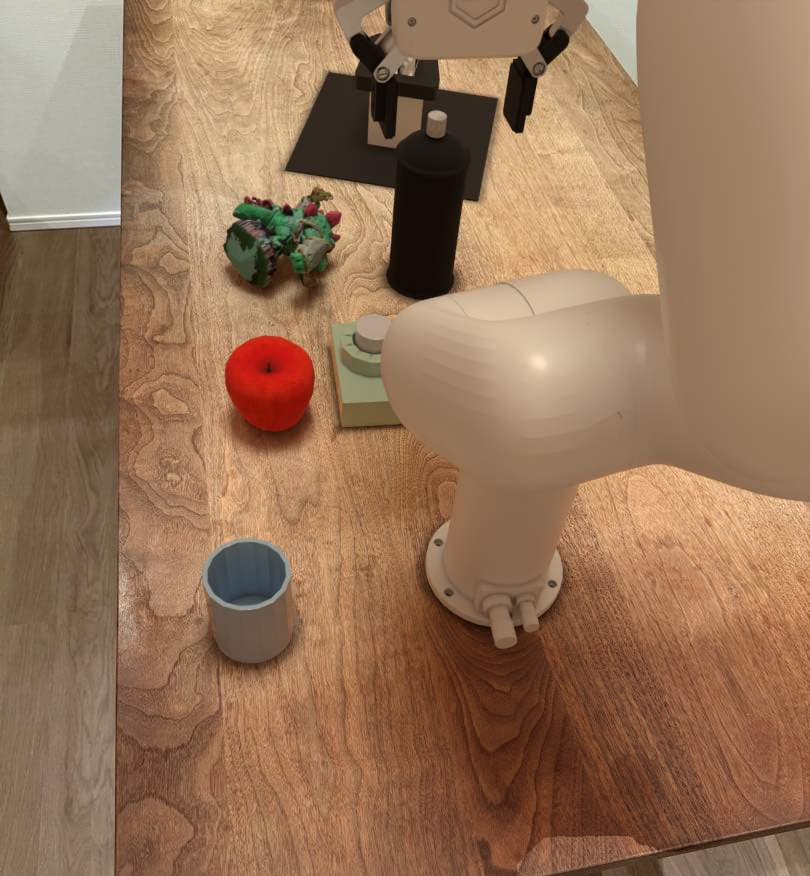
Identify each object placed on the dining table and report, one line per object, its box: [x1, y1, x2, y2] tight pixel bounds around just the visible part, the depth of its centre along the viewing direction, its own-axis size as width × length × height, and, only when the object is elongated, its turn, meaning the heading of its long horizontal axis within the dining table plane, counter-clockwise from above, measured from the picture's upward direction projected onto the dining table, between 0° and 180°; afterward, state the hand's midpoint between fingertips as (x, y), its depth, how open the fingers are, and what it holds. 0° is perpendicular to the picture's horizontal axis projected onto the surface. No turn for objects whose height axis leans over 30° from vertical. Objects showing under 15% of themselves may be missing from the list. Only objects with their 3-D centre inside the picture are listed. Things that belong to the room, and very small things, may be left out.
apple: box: [224, 334, 316, 433], centre depth 87 cm, size 9×9×8 cm
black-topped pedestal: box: [284, 18, 499, 201], centre depth 120 cm, size 28×26×13 cm
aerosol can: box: [386, 111, 472, 300], centre depth 98 cm, size 8×8×20 cm
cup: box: [201, 537, 294, 664], centre depth 72 cm, size 7×7×8 cm
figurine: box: [222, 186, 343, 288], centre depth 102 cm, size 12×13×15 cm
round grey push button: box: [355, 313, 393, 355], centre depth 90 cm, size 4×4×2 cm
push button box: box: [330, 318, 403, 428], centre depth 92 cm, size 12×8×6 cm, turn 8°
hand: (450, 126), depth 64 cm, fingers open, 9 cm apart
